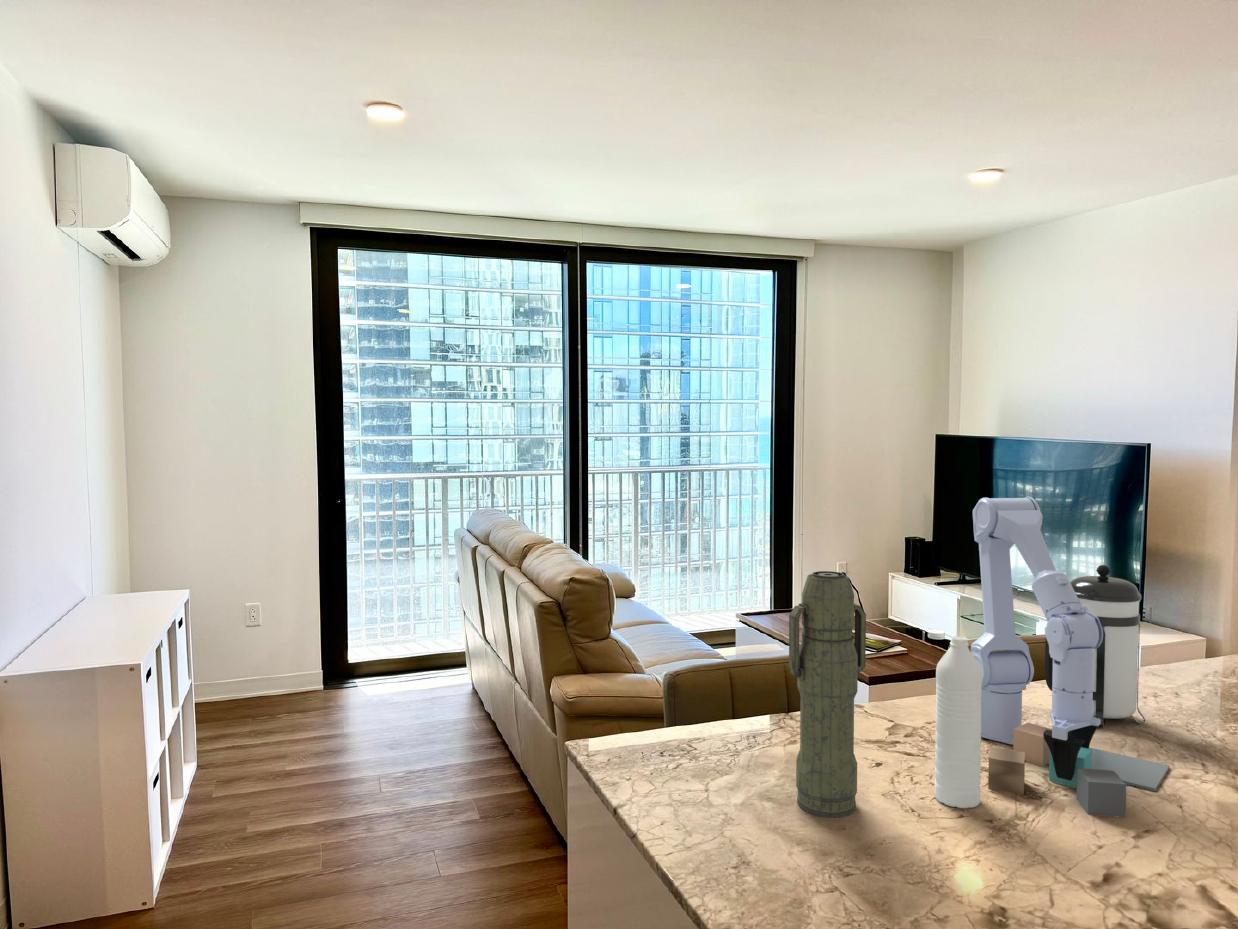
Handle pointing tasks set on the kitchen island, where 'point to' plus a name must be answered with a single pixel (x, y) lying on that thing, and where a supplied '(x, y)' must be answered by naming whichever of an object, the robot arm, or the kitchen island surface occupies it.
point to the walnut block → (1006, 770)
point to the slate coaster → (1130, 769)
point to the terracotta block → (1032, 743)
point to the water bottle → (957, 725)
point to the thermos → (827, 692)
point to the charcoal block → (1101, 792)
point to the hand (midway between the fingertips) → (1070, 771)
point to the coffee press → (1110, 644)
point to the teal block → (1082, 762)
